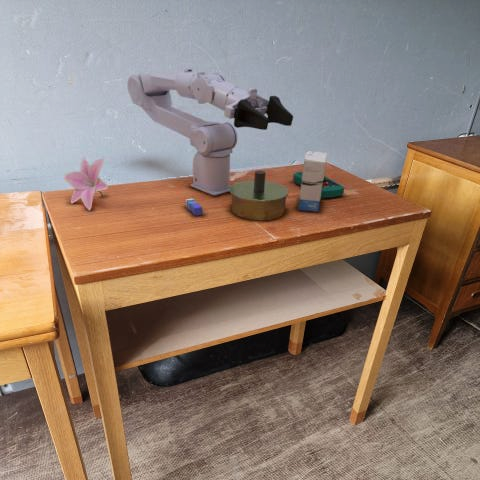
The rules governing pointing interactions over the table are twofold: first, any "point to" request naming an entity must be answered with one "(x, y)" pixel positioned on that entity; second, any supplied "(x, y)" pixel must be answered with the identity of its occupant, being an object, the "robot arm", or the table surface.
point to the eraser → (194, 207)
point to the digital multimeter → (328, 187)
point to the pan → (258, 209)
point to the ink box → (312, 181)
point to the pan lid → (259, 189)
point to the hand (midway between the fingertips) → (279, 122)
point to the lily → (86, 182)
